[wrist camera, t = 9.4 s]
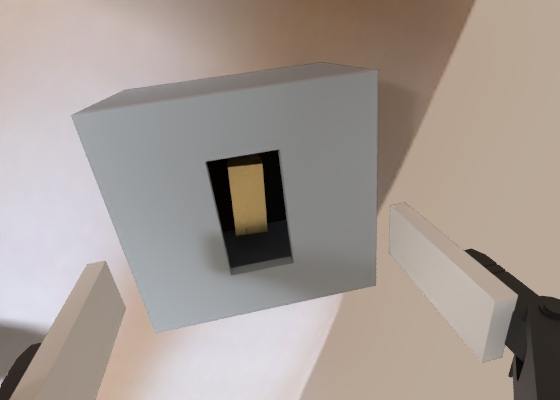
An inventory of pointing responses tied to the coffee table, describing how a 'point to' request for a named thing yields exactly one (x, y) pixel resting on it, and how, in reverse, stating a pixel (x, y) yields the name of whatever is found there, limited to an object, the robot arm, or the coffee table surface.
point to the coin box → (200, 198)
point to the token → (247, 194)
